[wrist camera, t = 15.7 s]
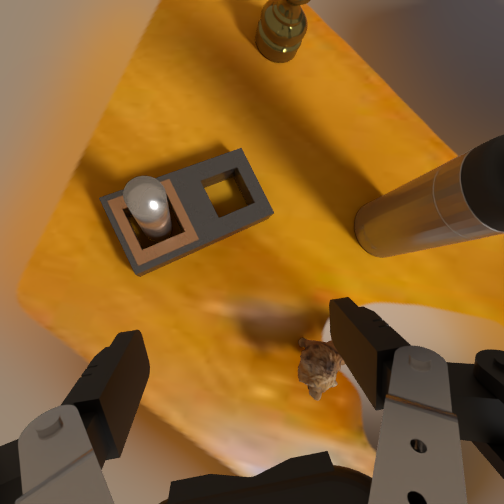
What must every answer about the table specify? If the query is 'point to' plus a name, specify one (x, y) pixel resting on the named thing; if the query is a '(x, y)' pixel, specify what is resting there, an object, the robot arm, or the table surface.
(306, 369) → the lion figurine
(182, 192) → the block with square holes
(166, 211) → the steel peg
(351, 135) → the table surface
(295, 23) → the bronze chess pawn
